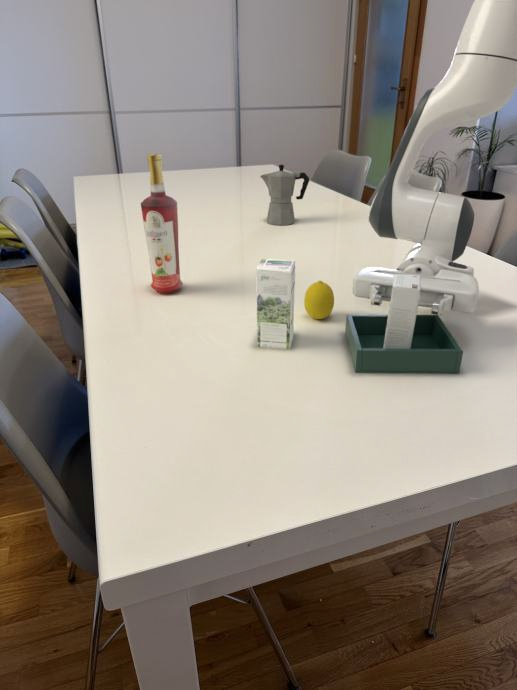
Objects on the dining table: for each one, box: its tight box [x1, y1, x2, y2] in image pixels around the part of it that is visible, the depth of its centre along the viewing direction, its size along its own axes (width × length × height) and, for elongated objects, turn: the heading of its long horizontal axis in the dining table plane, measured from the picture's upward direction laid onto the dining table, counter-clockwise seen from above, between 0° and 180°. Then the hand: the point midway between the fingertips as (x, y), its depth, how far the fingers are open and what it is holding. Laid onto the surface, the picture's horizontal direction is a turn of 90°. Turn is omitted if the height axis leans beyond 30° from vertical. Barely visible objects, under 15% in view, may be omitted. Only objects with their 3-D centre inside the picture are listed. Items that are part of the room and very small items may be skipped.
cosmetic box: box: [383, 274, 421, 349], centre depth 81 cm, size 6×4×12 cm
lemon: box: [303, 280, 335, 320], centre depth 95 cm, size 6×6×8 cm
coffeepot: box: [260, 164, 310, 226], centre depth 164 cm, size 15×9×18 cm, turn 87°
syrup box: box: [255, 258, 296, 350], centre depth 85 cm, size 6×6×14 cm
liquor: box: [140, 153, 184, 295], centre depth 106 cm, size 7×7×28 cm
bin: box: [344, 313, 464, 375], centre depth 83 cm, size 16×14×4 cm
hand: (405, 305), depth 80 cm, fingers open, 8 cm apart
